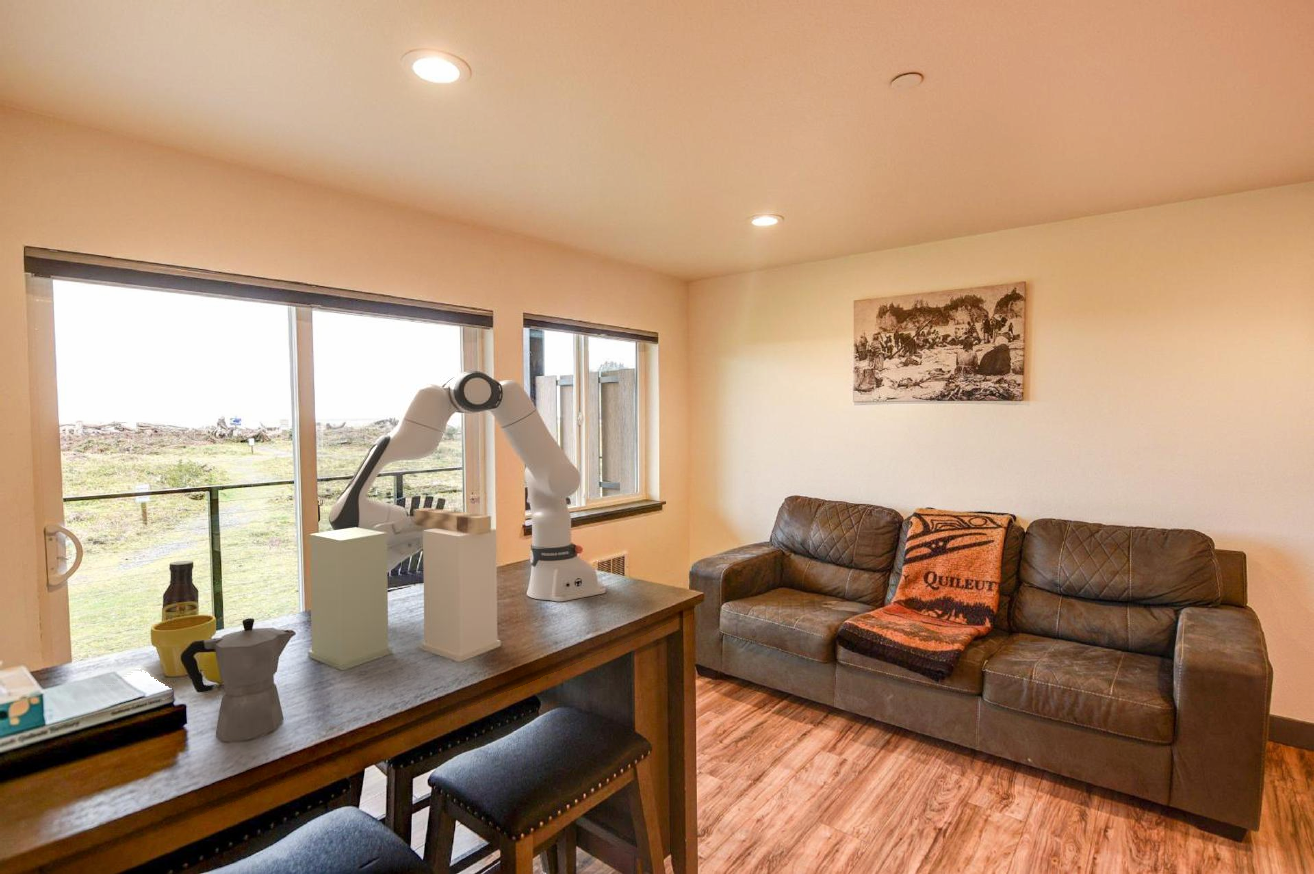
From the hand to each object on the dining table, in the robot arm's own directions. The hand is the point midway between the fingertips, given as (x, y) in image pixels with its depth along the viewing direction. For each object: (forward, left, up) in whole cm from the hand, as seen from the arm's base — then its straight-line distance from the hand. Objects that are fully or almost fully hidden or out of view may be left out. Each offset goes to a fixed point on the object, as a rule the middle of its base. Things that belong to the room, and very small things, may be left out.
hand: (430, 516), depth 142 cm
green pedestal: (+17, +4, -28) cm, 33 cm away
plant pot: (+46, -1, -28) cm, 54 cm away
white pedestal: (-5, +9, -28) cm, 30 cm away
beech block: (-4, +6, -2) cm, 8 cm away
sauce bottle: (+49, -11, -28) cm, 58 cm away
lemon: (+38, +10, -28) cm, 49 cm away
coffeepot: (+31, +32, -28) cm, 53 cm away
